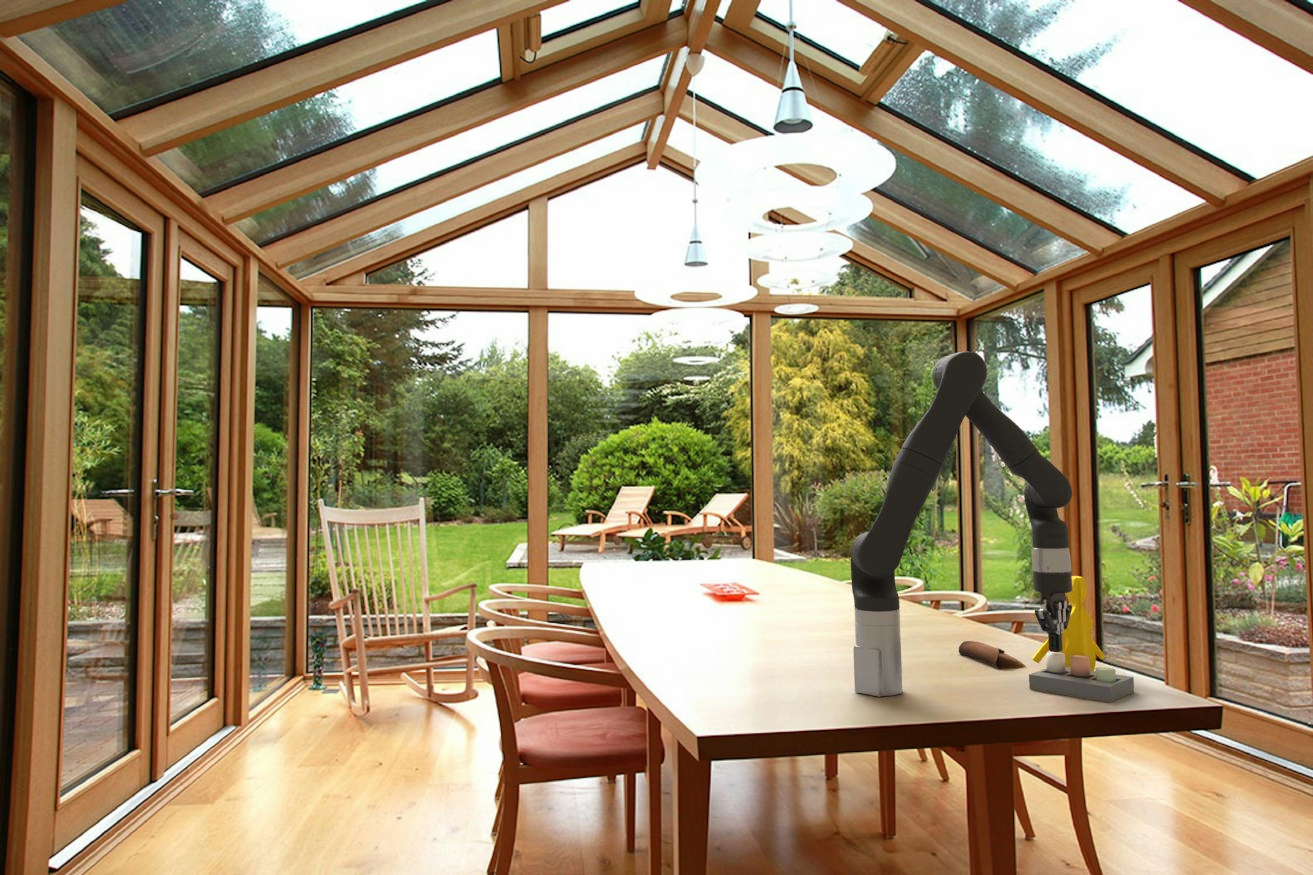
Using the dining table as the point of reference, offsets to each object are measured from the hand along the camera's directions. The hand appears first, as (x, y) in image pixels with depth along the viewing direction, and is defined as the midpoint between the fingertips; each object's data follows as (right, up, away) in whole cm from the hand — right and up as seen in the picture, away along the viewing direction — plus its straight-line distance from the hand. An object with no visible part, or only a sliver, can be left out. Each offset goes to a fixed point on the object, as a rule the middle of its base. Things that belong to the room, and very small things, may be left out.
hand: (1055, 651), depth 182 cm
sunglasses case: (-3, -10, +26) cm, 28 cm away
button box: (+3, -7, -4) cm, 9 cm away
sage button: (+7, -5, -8) cm, 11 cm away
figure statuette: (+9, -8, +10) cm, 16 cm away
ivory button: (0, -4, 0) cm, 4 cm away
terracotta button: (+3, -4, -4) cm, 6 cm away
